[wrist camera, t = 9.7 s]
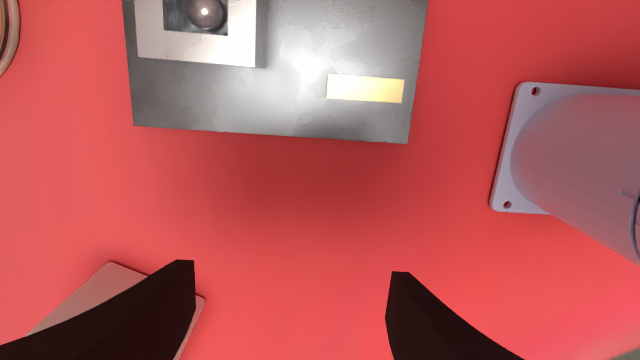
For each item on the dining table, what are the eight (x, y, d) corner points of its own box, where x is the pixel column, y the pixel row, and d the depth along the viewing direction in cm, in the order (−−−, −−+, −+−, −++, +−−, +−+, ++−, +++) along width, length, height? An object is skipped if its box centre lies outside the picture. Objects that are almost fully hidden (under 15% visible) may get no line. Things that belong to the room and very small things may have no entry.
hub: (269, -39, 17) (257, -68, 14) (265, 68, 19) (254, 67, 15) (165, -49, 17) (128, -81, 13) (170, 60, 18) (138, 57, 15)
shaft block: (437, -91, 17) (467, -131, 14) (403, 141, 21) (420, 154, 17) (119, -119, 17) (69, -168, 13) (140, 123, 20) (105, 133, 17)
